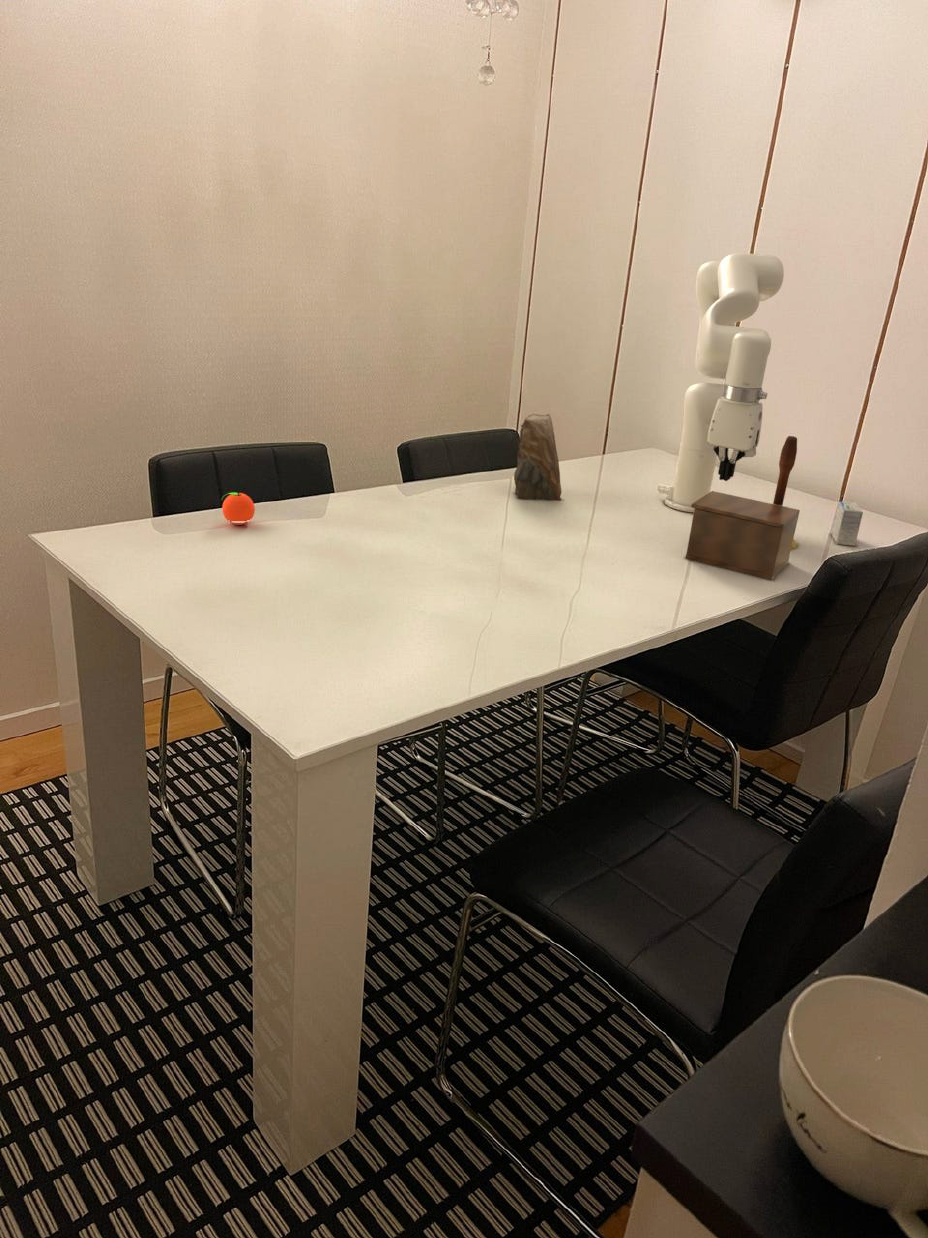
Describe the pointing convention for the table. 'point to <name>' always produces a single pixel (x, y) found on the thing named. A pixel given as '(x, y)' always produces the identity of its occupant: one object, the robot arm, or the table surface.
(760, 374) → the robot arm
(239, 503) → the clementine
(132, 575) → the table surface
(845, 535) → the medicine box
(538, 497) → the brown rock
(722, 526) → the chest
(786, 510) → the lid
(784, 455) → the handbell
